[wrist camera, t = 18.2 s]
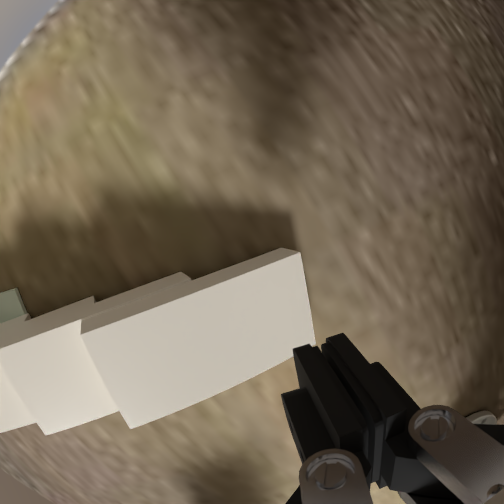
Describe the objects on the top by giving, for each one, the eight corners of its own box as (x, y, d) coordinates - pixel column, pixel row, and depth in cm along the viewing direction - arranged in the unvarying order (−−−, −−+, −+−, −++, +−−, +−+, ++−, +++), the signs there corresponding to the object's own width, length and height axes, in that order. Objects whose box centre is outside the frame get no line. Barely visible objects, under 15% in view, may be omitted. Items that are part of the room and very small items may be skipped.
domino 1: (94, 304, 14) (-58, 361, 9) (132, 388, 15) (-11, 435, 11) (93, 295, 15) (-49, 349, 11) (127, 374, 16) (-7, 420, 12)
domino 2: (190, 278, 14) (-7, 351, 10) (219, 368, 15) (45, 435, 11) (180, 271, 15) (1, 337, 11) (208, 355, 17) (46, 417, 13)
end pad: (17, 287, 14) (14, 289, 14) (72, 401, 16) (71, 403, 16) (-47, 307, 14) (-50, 309, 13) (3, 405, 16) (2, 407, 16)
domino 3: (300, 252, 15) (80, 334, 10) (315, 343, 16) (130, 429, 12) (281, 247, 16) (81, 320, 12) (298, 333, 17) (125, 409, 13)
